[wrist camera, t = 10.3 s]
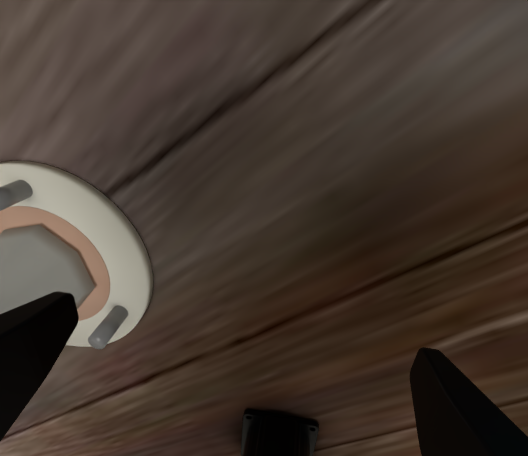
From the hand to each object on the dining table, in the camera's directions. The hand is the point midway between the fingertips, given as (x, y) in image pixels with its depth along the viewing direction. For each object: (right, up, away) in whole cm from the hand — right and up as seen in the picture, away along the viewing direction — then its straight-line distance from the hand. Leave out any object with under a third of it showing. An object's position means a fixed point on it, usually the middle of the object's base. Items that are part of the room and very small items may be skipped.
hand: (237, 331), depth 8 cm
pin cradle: (-15, 0, +16) cm, 22 cm away
